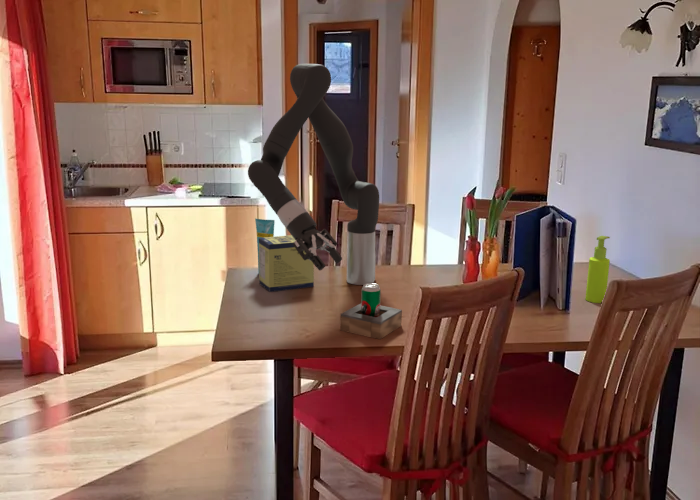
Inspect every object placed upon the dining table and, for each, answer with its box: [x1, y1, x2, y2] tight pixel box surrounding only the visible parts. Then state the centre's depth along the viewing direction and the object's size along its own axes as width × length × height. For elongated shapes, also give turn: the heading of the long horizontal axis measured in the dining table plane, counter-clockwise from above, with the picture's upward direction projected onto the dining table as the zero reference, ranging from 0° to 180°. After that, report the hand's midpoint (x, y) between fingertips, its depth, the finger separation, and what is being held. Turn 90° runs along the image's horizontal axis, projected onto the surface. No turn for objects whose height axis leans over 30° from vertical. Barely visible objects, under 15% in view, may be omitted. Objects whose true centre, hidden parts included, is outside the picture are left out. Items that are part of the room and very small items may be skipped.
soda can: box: [360, 282, 381, 317], centre depth 183 cm, size 5×5×12 cm
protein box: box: [258, 234, 315, 293], centre depth 221 cm, size 10×16×16 cm
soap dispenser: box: [584, 235, 611, 304], centre depth 209 cm, size 6×7×20 cm
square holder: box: [339, 303, 403, 340], centre depth 184 cm, size 12×12×5 cm
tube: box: [254, 218, 276, 273], centre depth 233 cm, size 7×5×19 cm, turn 72°
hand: (331, 264), depth 188 cm, fingers open, 8 cm apart
